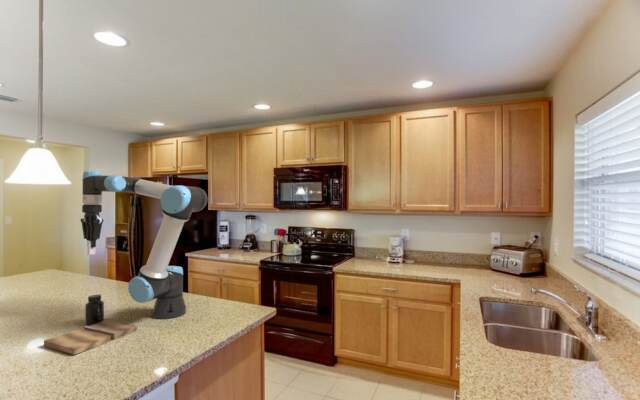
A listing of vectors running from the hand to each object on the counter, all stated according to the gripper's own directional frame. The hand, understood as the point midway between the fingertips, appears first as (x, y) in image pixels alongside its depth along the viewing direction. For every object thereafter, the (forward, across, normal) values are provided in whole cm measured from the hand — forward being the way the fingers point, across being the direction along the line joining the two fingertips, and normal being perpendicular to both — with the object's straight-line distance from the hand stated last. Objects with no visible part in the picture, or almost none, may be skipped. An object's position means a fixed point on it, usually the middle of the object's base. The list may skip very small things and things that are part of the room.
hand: (91, 254), depth 152 cm
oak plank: (+29, +25, -21) cm, 44 cm away
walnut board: (+29, +25, -8) cm, 39 cm away
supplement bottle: (+30, +9, -4) cm, 31 cm away
